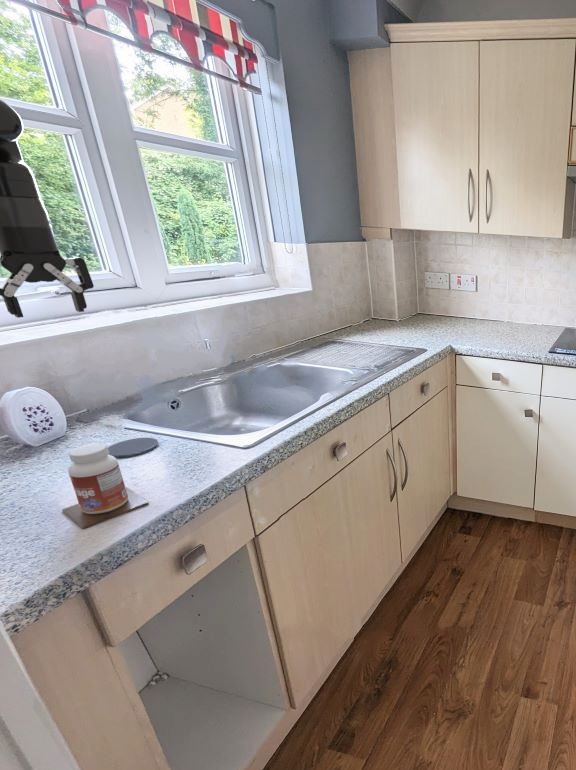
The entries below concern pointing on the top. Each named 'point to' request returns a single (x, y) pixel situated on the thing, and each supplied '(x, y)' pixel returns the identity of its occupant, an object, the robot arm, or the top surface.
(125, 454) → the plate
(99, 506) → the pill bottle
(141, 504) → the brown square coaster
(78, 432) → the top surface
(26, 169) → the robot arm
